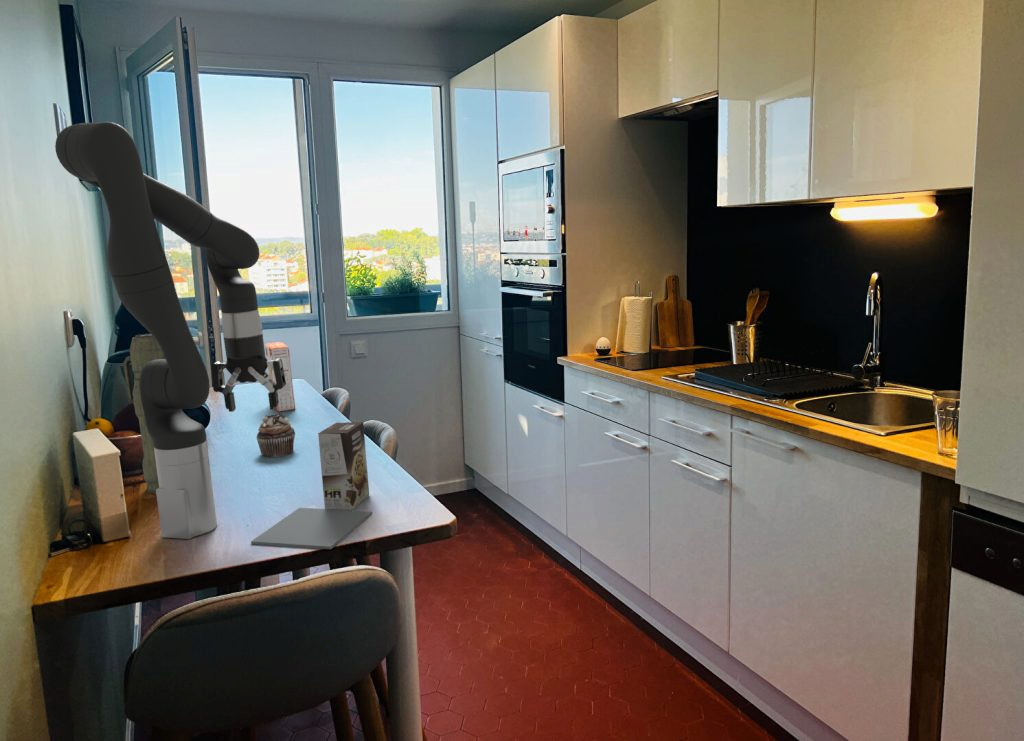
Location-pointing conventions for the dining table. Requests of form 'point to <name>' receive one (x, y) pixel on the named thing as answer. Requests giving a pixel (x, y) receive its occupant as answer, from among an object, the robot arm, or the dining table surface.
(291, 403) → the cracker box
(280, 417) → the cupcake
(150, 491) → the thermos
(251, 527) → the dining table surface
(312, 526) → the mat
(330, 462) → the coffee box
